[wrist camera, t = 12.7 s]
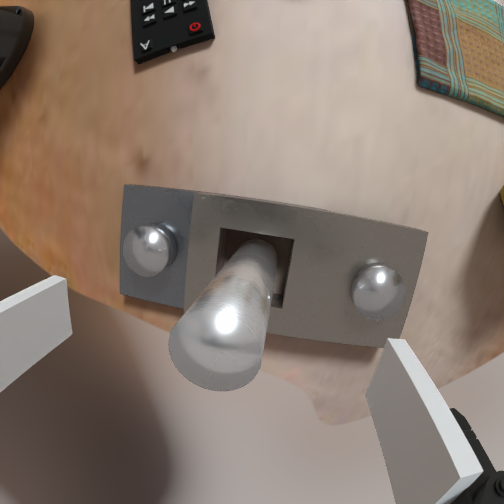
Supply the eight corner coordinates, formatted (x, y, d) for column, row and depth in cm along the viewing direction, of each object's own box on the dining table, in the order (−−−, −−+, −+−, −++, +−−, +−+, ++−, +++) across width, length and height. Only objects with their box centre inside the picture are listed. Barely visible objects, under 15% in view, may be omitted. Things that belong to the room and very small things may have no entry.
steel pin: (233, 275, 25) (168, 379, 11) (238, 235, 25) (169, 302, 10) (274, 282, 25) (254, 398, 10) (280, 242, 24) (268, 321, 10)
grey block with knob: (194, 303, 26) (177, 324, 22) (205, 192, 24) (187, 192, 20) (386, 333, 25) (400, 357, 20) (413, 227, 23) (436, 235, 18)
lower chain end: (127, 288, 27) (108, 301, 24) (132, 184, 25) (112, 184, 21) (304, 322, 26) (305, 342, 22) (326, 209, 23) (332, 213, 20)
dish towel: (559, 149, 18) (571, 149, 16) (414, 91, 20) (425, 82, 18) (536, 36, 14) (546, 31, 12) (393, -33, 17) (399, -45, 14)
